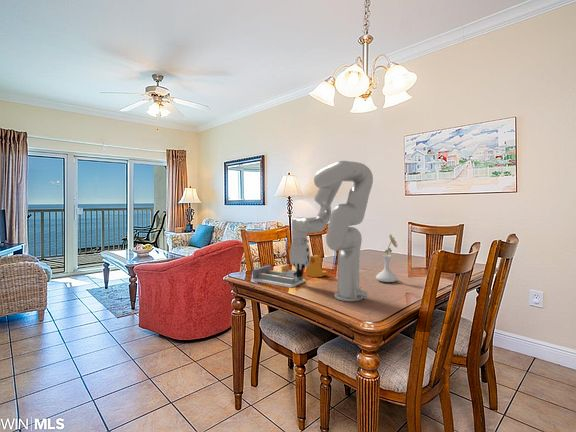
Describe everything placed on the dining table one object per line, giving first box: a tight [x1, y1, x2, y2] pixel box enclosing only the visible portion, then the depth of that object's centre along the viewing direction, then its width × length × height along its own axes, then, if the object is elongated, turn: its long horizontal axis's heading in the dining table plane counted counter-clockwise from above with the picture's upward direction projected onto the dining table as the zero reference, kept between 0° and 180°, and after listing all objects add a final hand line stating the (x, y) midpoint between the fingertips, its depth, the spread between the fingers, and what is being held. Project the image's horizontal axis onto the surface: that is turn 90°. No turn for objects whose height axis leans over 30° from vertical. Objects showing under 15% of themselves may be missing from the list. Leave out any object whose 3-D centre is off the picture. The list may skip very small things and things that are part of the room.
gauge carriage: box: [278, 264, 299, 282], centre depth 165 cm, size 8×11×7 cm
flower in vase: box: [375, 234, 399, 283], centre depth 167 cm, size 13×11×25 cm
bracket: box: [305, 254, 328, 278], centre depth 181 cm, size 11×7×12 cm, turn 49°
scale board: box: [252, 264, 306, 288], centre depth 169 cm, size 25×14×6 cm, turn 56°
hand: (299, 276), depth 161 cm, fingers closed
